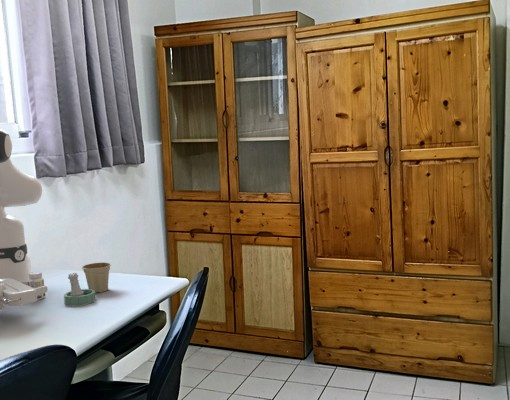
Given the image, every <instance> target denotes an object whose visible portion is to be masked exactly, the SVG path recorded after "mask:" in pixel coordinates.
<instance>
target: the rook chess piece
mask: <svg viewBox="0 0 510 400" xmlns="http://www.w3.org/2000/svg"><path fill="white" fill-rule="evenodd" d="M78 278H79V274H78V273H77V272H73V273H69V274H68V277H67V279H69V284H70V291H71V294H70V296H83V294H84V292H83V291H82V289H83V288H81V286H80V283H79V281H80V280H79V279H78Z"/></svg>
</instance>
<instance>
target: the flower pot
mask: <svg viewBox="0 0 510 400" xmlns="http://www.w3.org/2000/svg"><path fill="white" fill-rule="evenodd" d="M111 266H112V263H110V262H102V261H101V262H93V263H92V262H91V263H87V264H84V265H82V266H81V269H82V270H83V272H84V276H85V280H86V283H87V289H91V290H94V291H95V294H96V293H103V292H107V291H108V289H109V277H110V276H109V275H110V270H111Z"/></svg>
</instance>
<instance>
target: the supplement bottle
mask: <svg viewBox="0 0 510 400" xmlns="http://www.w3.org/2000/svg"><path fill="white" fill-rule="evenodd" d="M29 278H30V279H29V280H28V281H31V280H32V281H34V282H35V286H34V287H32V288H39V287H40V286H45V280H44V278H43V272H42V271H32V272H31V273H29ZM45 298H46V293H42V294H40V295H38V296H37V301H38V300H42V299H45Z"/></svg>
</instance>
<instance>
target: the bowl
mask: <svg viewBox="0 0 510 400" xmlns="http://www.w3.org/2000/svg"><path fill="white" fill-rule="evenodd" d="M81 289H82V291H83V292H84V294H83V296H70V294H71V290H70V291H67V292H65V293H64V294H63V300H64V305H65V306H69V307H80V306H87V305H90V304H92V303H94V302H96V301H97V299H96V297H97V296H96V295H97V294H96V293H95V291H94V290H91V289H88V288H81Z"/></svg>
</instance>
